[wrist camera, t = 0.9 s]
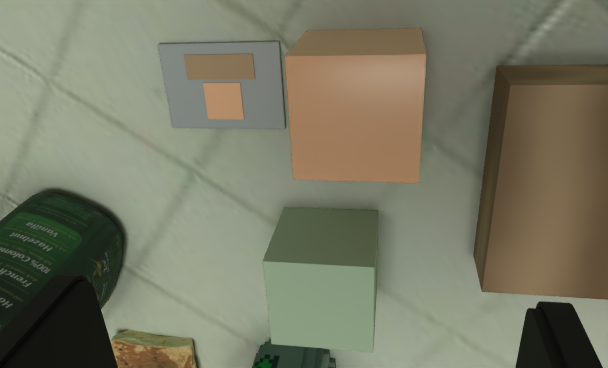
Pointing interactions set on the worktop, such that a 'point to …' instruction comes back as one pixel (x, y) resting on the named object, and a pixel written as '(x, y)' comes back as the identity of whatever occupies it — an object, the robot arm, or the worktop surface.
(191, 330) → the worktop surface
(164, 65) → the card
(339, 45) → the terracotta cube
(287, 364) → the can
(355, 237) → the sage cube
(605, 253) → the walnut block
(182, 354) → the shard
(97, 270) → the coffee jar
